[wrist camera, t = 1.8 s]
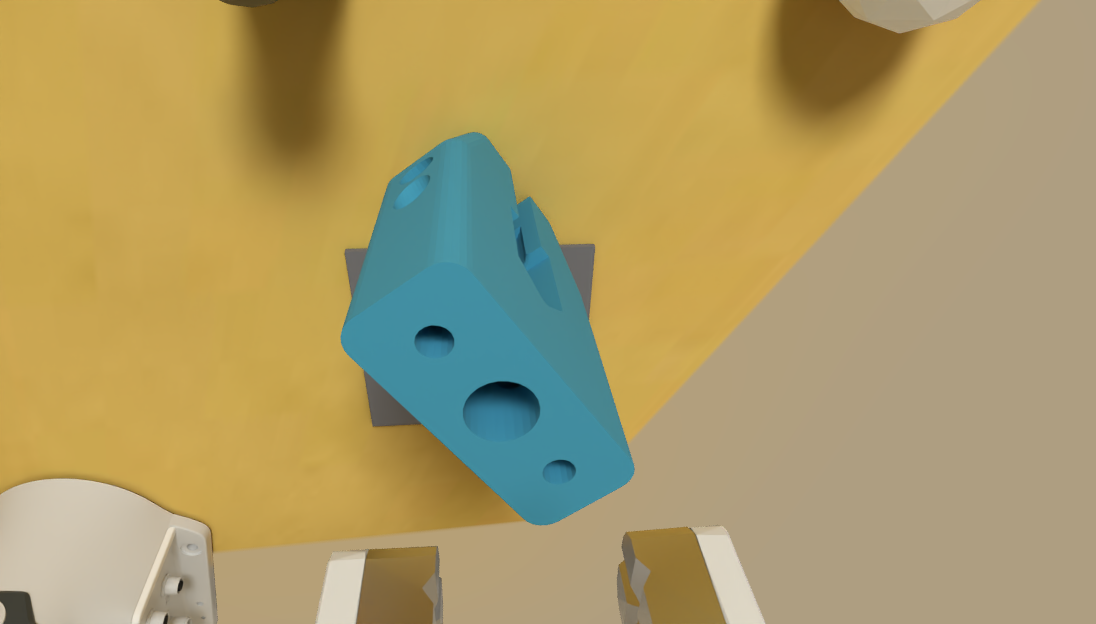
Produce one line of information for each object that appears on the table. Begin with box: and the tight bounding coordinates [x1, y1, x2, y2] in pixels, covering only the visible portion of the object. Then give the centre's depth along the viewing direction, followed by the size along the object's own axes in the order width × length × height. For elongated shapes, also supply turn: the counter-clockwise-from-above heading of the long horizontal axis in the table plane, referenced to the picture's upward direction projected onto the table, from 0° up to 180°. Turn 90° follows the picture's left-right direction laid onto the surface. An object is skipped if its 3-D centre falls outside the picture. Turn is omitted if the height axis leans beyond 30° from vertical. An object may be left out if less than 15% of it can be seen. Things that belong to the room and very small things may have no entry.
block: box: [341, 132, 634, 525], centre depth 31 cm, size 12×5×20 cm, turn 33°
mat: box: [345, 244, 595, 426], centre depth 45 cm, size 15×16×1 cm
